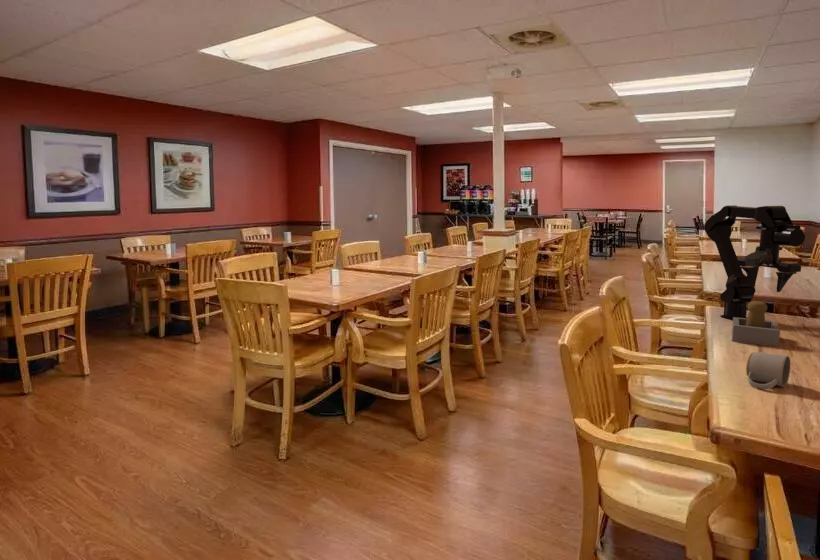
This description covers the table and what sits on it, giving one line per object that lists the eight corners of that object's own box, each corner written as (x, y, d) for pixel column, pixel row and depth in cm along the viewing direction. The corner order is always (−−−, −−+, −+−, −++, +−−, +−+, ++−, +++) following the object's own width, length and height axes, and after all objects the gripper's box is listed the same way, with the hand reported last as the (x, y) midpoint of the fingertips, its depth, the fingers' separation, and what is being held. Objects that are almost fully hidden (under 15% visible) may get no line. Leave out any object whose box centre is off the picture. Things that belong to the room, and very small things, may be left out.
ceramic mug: (752, 374, 140) (754, 345, 139) (789, 382, 135) (792, 353, 133) (739, 385, 133) (742, 356, 132) (778, 394, 127) (781, 363, 126)
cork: (765, 334, 172) (769, 301, 170) (765, 339, 167) (769, 304, 165) (743, 331, 175) (747, 298, 173) (742, 336, 170) (746, 302, 168)
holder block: (731, 331, 179) (733, 317, 178) (775, 336, 173) (776, 321, 172) (732, 341, 169) (733, 325, 168) (778, 346, 163) (779, 330, 162)
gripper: (726, 242, 185) (723, 286, 188) (779, 247, 168) (774, 296, 170) (750, 240, 189) (746, 284, 191) (804, 246, 171) (799, 294, 174)
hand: (765, 289), depth 182 cm, fingers open, 9 cm apart
